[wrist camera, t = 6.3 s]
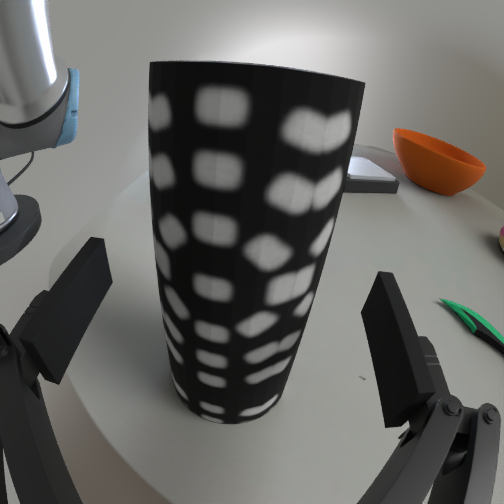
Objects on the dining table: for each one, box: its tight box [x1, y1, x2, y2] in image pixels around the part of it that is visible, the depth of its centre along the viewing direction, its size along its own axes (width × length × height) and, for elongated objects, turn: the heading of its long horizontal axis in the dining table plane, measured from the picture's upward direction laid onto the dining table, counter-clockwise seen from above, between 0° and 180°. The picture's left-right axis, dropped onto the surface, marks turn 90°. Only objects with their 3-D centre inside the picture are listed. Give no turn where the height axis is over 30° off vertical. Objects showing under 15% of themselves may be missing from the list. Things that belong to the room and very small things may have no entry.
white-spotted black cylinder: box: [148, 61, 365, 424], centre depth 16 cm, size 8×8×20 cm
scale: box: [343, 156, 399, 193], centre depth 59 cm, size 14×13×3 cm
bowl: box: [393, 129, 486, 196], centre depth 65 cm, size 25×25×10 cm
